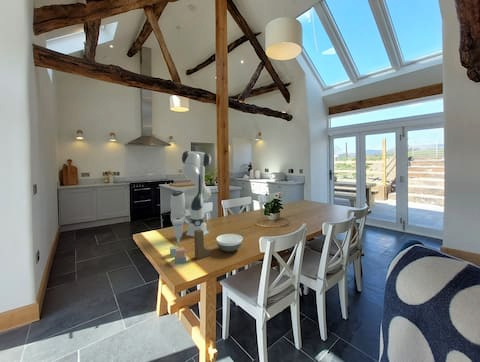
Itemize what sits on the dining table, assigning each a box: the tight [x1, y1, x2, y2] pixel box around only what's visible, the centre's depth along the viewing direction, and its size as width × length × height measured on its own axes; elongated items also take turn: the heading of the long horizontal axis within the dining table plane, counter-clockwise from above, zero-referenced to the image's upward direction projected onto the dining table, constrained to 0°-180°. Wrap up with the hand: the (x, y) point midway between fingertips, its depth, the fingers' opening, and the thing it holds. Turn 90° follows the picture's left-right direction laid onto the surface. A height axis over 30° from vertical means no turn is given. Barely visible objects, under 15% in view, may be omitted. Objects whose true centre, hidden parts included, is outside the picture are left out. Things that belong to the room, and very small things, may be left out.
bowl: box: [215, 233, 244, 253], centre depth 160 cm, size 19×19×8 cm
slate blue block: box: [174, 253, 187, 265], centre depth 143 cm, size 7×7×2 cm
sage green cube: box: [169, 245, 179, 258], centre depth 152 cm, size 5×5×5 cm
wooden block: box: [193, 229, 211, 260], centre depth 148 cm, size 9×4×18 cm, turn 130°
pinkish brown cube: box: [176, 247, 186, 259], centre depth 143 cm, size 5×5×5 cm
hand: (178, 239), depth 142 cm, fingers open, 8 cm apart
